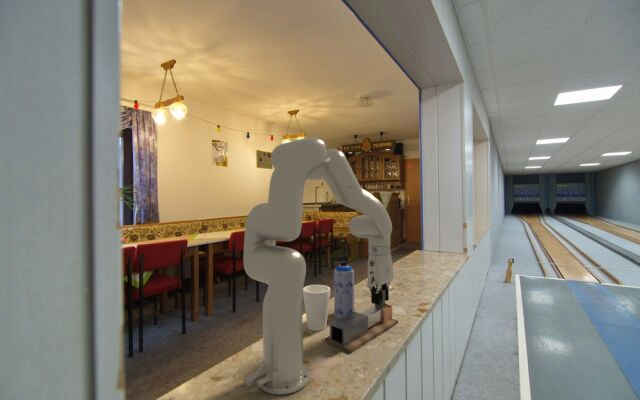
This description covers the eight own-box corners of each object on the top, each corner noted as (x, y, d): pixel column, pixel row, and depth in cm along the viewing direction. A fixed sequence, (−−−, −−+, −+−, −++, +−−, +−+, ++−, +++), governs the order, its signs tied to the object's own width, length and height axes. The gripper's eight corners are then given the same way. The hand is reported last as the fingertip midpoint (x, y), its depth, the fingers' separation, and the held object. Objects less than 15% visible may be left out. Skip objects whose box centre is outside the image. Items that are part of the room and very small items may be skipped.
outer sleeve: (344, 347, 82) (343, 328, 82) (330, 340, 86) (329, 322, 86) (368, 332, 91) (367, 315, 91) (354, 327, 94) (354, 311, 94)
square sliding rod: (361, 331, 90) (361, 300, 90) (352, 328, 92) (351, 298, 92) (387, 316, 101) (387, 289, 101) (378, 313, 104) (378, 287, 104)
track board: (350, 353, 80) (350, 349, 80) (324, 341, 87) (324, 338, 87) (398, 323, 100) (398, 320, 100) (373, 315, 107) (373, 313, 107)
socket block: (384, 323, 98) (384, 308, 98) (371, 318, 102) (371, 304, 102) (392, 318, 101) (391, 304, 101) (378, 314, 105) (378, 301, 105)
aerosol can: (358, 313, 109) (358, 261, 109) (347, 320, 103) (346, 264, 103) (341, 309, 114) (341, 258, 114) (329, 315, 108) (329, 262, 108)
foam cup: (299, 323, 100) (299, 286, 100) (323, 319, 104) (323, 283, 104) (309, 335, 92) (309, 294, 92) (335, 329, 95) (334, 290, 95)
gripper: (375, 254, 92) (375, 311, 92) (400, 248, 105) (401, 298, 104) (356, 252, 97) (357, 305, 97) (383, 246, 110) (383, 293, 110)
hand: (380, 301), depth 101 cm, fingers open, 4 cm apart
